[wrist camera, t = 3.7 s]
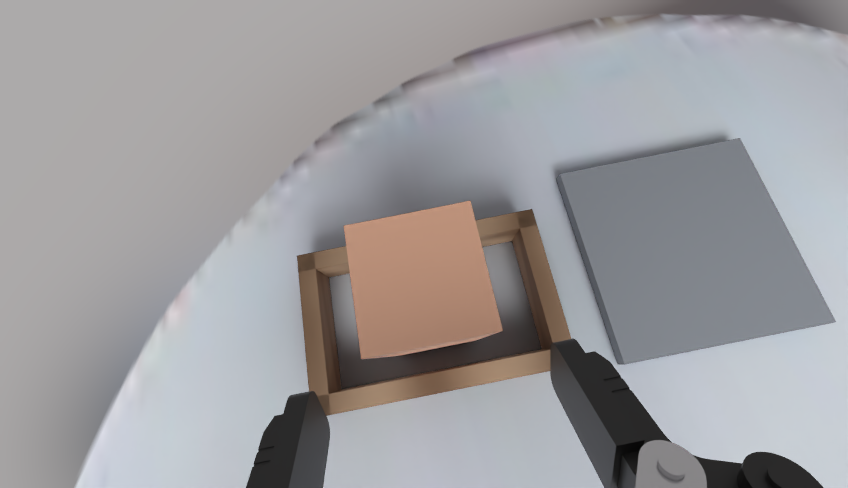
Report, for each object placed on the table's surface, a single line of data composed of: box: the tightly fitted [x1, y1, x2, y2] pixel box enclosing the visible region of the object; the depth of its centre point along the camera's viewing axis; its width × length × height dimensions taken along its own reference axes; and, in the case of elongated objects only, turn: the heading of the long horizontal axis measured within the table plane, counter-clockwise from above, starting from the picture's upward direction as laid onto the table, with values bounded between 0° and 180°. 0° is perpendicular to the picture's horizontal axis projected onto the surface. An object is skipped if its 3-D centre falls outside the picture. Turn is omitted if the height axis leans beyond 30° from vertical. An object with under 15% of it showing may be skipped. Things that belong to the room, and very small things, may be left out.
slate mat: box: [556, 138, 836, 364], centre depth 22 cm, size 12×12×1 cm
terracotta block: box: [344, 201, 503, 359], centre depth 17 cm, size 4×4×11 cm
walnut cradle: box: [297, 209, 571, 416], centre depth 21 cm, size 14×9×2 cm, turn 101°
